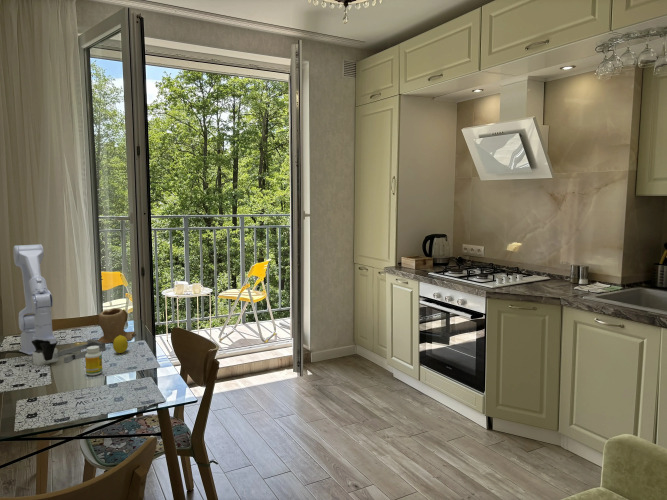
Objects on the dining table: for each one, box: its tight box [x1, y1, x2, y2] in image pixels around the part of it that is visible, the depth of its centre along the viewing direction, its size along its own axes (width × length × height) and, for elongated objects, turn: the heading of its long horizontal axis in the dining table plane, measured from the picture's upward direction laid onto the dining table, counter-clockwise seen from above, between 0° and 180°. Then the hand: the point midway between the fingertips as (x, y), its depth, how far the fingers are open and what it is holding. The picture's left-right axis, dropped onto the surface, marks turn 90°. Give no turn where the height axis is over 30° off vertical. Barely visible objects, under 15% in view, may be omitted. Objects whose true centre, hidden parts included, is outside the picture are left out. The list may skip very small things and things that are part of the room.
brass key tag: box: [74, 341, 87, 347], centre depth 206 cm, size 6×3×2 cm, turn 76°
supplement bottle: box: [84, 346, 103, 376], centre depth 173 cm, size 5×5×10 cm
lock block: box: [32, 347, 59, 367], centre depth 185 cm, size 4×7×5 cm, turn 146°
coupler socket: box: [57, 339, 107, 364], centre depth 195 cm, size 13×17×4 cm
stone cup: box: [97, 307, 136, 345], centre depth 211 cm, size 15×12×15 cm
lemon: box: [112, 335, 129, 354], centre depth 195 cm, size 6×6×8 cm
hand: (45, 358), depth 185 cm, fingers closed on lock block, 4 cm apart
